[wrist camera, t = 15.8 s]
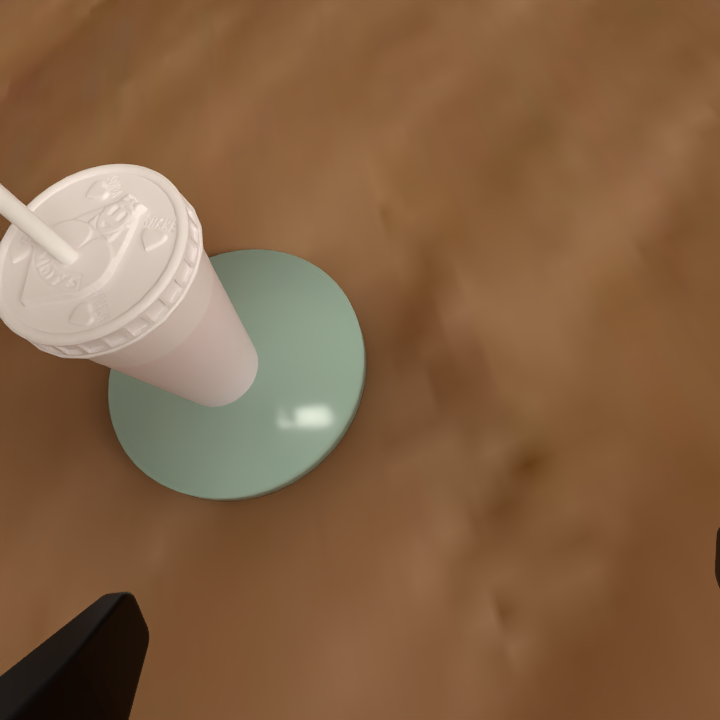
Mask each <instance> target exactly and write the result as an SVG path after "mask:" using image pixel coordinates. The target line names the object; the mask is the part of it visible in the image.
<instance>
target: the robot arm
mask: <svg viewBox="0 0 720 720" xmlns="http://www.w3.org/2000/svg"><path fill="white" fill-rule="evenodd" d="M715 575H716V579H717V583H718V585H719V588H720V528H719V529H718V531H717V538H716V558H715ZM148 643H149V631H148V627H147V624H146V622H145V620H144V618H143V615H142V613H141V611H140V608H139V606H138V604H137V601H136V599H135V597H134V595H132V594H131V593H130V592H118V593H109V594H106V595H104V596H102V597H101V598H99V599H98V600H97V601H96V602H94V603H93V604H92V605H90V606H89V607H88V608H87V609H85V610H84V611H83V612H82V613H80V614H79V615H78V616H76V617H75V618H74V619H73V620H71V621H70V622H69V623H68V624H66V625H65V626H64V627H62V628H61V629H60V630H59V631H57V632H56V633H55V634H54V635H52V636H51V637H50V638H49V639H47V640H46V641H45V642H43V643H42V644H41V645H40V646H38V647H37V648H36V649H35V650H33V651H32V652H31V653H29V654H28V655H27V656H26V657H24V658H23V659H22V660H21V661H19V662H18V663H17V664H15V665H14V666H13V667H12V668H10V669H9V670H8V671H7V672H5V673H4V674H3V675H2V676H0V720H129V716H130V712H131V708H132V705H133V701H134V697H135V693H136V690H137V686H138V682H139V678H140V674H141V671H142V667H143V663H144V659H145V655H146V652H147V648H148Z"/></svg>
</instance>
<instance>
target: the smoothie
mask: <svg viewBox="0 0 720 720" xmlns="http://www.w3.org/2000/svg"><path fill="white" fill-rule="evenodd" d="M0 214H1V215H3V216H4V217H5V218H6V219H8V220H9V221H10V222H11V223H12V224H11V225H10V227H9V228H8V230H7V232H6V234H5V235H4V237H3V239H2V241H1V243H0V318H1V319H2V320H3V322H4V323H5V324H6V325H7V326H8V327H9V328H10V329H11V330H12V331H14V332H15V333H16V334H18V335H19V336H21V337H23V338H25V339H26V340H28V341H29V342H31V343H32V344H33V345H34V346H36V347H37V348H38V349H39V350H41V351H44V352H47V353H50V354H53V355H56V356H58V357H61V358H82V359H89V360H91V361H93V362H96V363H98V364H101V365H104V366H107V367H109V368H112V369H114V370H117V371H119V372H121V373H124V374H126V375H129V376H131V377H134V378H136V379H139V380H141V381H143V382H146V383H148V384H151V385H153V386H156V387H158V388H161V389H163V390H165V391H168V392H170V393H173V394H175V395H178V396H180V397H183V398H185V399H188V400H190V401H192V402H195V403H197V404H200V405H203V406H207V407H219V406H224V405H227V404H229V403H232V402H234V401H235V400H237V399H238V398H240V397H241V396H242V395H243V394H244V393H245V392H246V391H247V390H248V389H249V388H250V386H251V385H252V383H253V381H254V379H255V377H256V374H257V370H258V355H257V352H256V349H255V347H254V345H253V343H252V341H251V339H250V337H249V336H248V334H247V332H246V330H245V328H244V326H243V324H242V322H241V320H240V318H239V316H238V314H237V312H236V311H235V309H234V307H233V305H232V303H231V301H230V299H229V297H228V295H227V293H226V291H225V289H224V287H223V285H222V284H221V282H220V280H219V278H218V276H217V274H216V272H215V270H214V268H213V266H212V264H211V262H210V260H209V258H208V256H207V254H206V252H205V250H204V248H203V239H202V227H201V224H200V222H199V220H198V217H197V215H196V212H195V210H194V208H193V207H192V206H191V205H190V203H189V202H188V201H187V200H186V199H185V198H184V197H183V196H182V195H181V193H179V191H178V190H177V188H176V187H175V186H174V185H173V184H172V183H171V182H170V181H169V180H168V179H167V178H165V177H164V176H163V175H161V174H159V173H158V172H156V171H154V170H151V169H148V168H146V167H142V166H138V165H131V164H111V165H102V166H98V167H94V168H89V169H85V170H83V171H80V172H78V173H75V174H73V175H70V176H68V177H66V178H64V179H62V180H61V181H59V182H57V183H55V184H54V185H52V186H50V187H49V188H48V189H46V190H45V191H44V192H42V193H41V194H40V195H38V196H37V197H36V198H34V199H33V200H32V201H31V202H30V203H29V204H28V205H27V206H25V205H24V204H23V203H22V202H21V201H19V200H18V199H17V198H16V197H15V196H14V195H13V194H12V193H10V192H9V191H8V190H7V189H6V188H5V187H4V186H2V185H1V184H0Z"/></svg>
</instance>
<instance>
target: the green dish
mask: <svg viewBox="0 0 720 720" xmlns="http://www.w3.org/2000/svg"><path fill="white" fill-rule="evenodd" d="M209 260H210V262H211V264H212V266H213V268H214V270H215V272H216V274H217V276H218V278H219V280H220V282H221V284H222V285H223V287H224V289H225V291H226V293H227V295H228V297H229V299H230V301H231V303H232V305H233V307H234V309H235V311H236V312H237V314H238V316H239V318H240V320H241V322H242V324H243V326H244V328H245V330H246V332H247V334H248V336H249V337H250V339H251V341H252V343H253V345H254V347H255V349H256V352H257V355H258V370H257V374H256V377H255V379H254V381H253V383H252V385H251V386H250V388H249V389H248V390H247V391H246V392H245V393H244V394H243V395H242V396H241V397H240V398H238V399H237V400H235V401H234V402H232V403H229V404H227V405H224V406H219V407H207V406H203V405H200V404H197V403H195V402H192V401H190V400H188V399H185V398H183V397H180V396H178V395H175V394H173V393H170V392H168V391H165V390H163V389H161V388H158V387H156V386H153V385H151V384H148V383H146V382H143V381H141V380H139V379H136V378H134V377H131V376H129V375H126V374H124V373H121V372H119V371H117V370H114V369H112V368H111V370H110V376H109V387H108V400H109V411H110V415H111V420H112V424H113V427H114V430H115V432H116V435H117V438H118V440H119V442H120V444H121V445H122V447H123V449H124V450H125V452H126V454H127V455H128V456H129V457H130V459H131V460H132V461H133V462H134V464H135V465H136V466H137V467H138V468H140V469H141V470H142V471H143V472H144V473H145V474H146V475H147V476H149V477H150V478H152V479H154V480H155V481H157V482H158V483H160V484H161V485H164V486H166V487H168V488H171V489H173V490H175V491H178V492H181V493H183V494H186V495H189V496H193V497H197V498H201V499H204V500H212V501H222V502H223V501H242V500H248V499H253V498H258V497H261V496H264V495H268V494H271V493H274V492H276V491H278V490H281V489H283V488H285V487H287V486H289V485H291V484H293V483H294V482H296V481H298V480H299V479H301V478H302V477H304V476H306V475H307V474H308V473H309V472H311V471H312V470H313V469H314V468H316V467H317V466H318V465H319V464H321V463H322V462H323V461H324V459H325V458H326V457H327V456H328V455H329V454H330V453H331V452H332V451H333V450H334V449H335V448H336V446H337V445H338V443H339V442H340V441H341V439H342V438H343V437H344V435H345V434H346V432H347V430H348V429H349V427H350V425H351V423H352V421H353V420H354V417H355V415H356V412H357V410H358V408H359V405H360V402H361V399H362V395H363V391H364V387H365V380H366V372H367V358H366V349H365V342H364V338H363V334H362V331H361V328H360V325H359V322H358V320H357V317H356V314H355V312H354V310H353V308H352V306H351V304H350V302H349V300H348V298H347V297H346V295H345V294H344V292H343V291H342V290H341V288H340V287H339V286H338V285H337V284H336V283H335V282H334V280H333V279H332V278H331V277H330V276H328V275H327V274H326V273H325V272H323V271H322V270H321V269H320V268H318V267H316V266H315V265H313V264H311V263H310V262H308V261H306V260H304V259H301V258H299V257H296V256H294V255H290V254H287V253H283V252H279V251H272V250H258V249H249V250H239V251H232V252H228V253H223V254H219V255H216V256H213V257H210V258H209Z"/></svg>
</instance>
